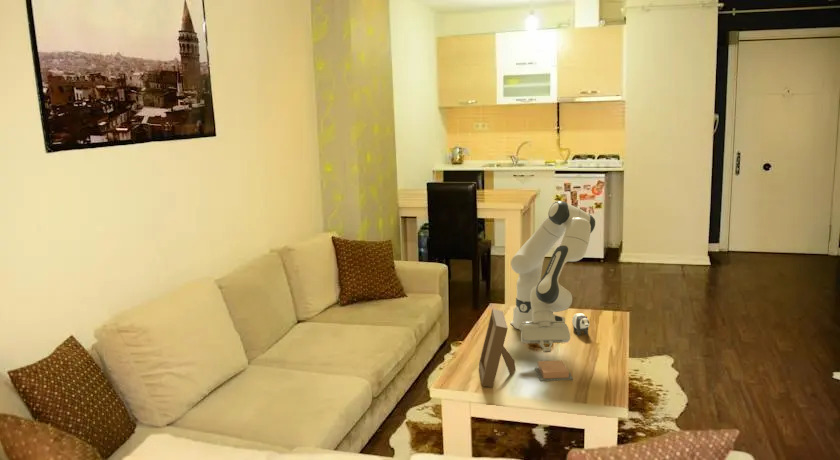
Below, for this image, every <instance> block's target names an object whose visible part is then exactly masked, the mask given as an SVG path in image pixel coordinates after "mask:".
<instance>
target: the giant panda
mask: <svg viewBox="0 0 840 460" xmlns="http://www.w3.org/2000/svg"><path fill="white" fill-rule="evenodd" d="M571 323H572V326H573V331H574V332H576V335H577V336H582V332H583V335H585V336H588V335H589V327H590V321H589V319H588V317H587V316H586V315H585V314H584V313H581V312H579V313H574V315H573V316H572V322H571Z"/></svg>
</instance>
